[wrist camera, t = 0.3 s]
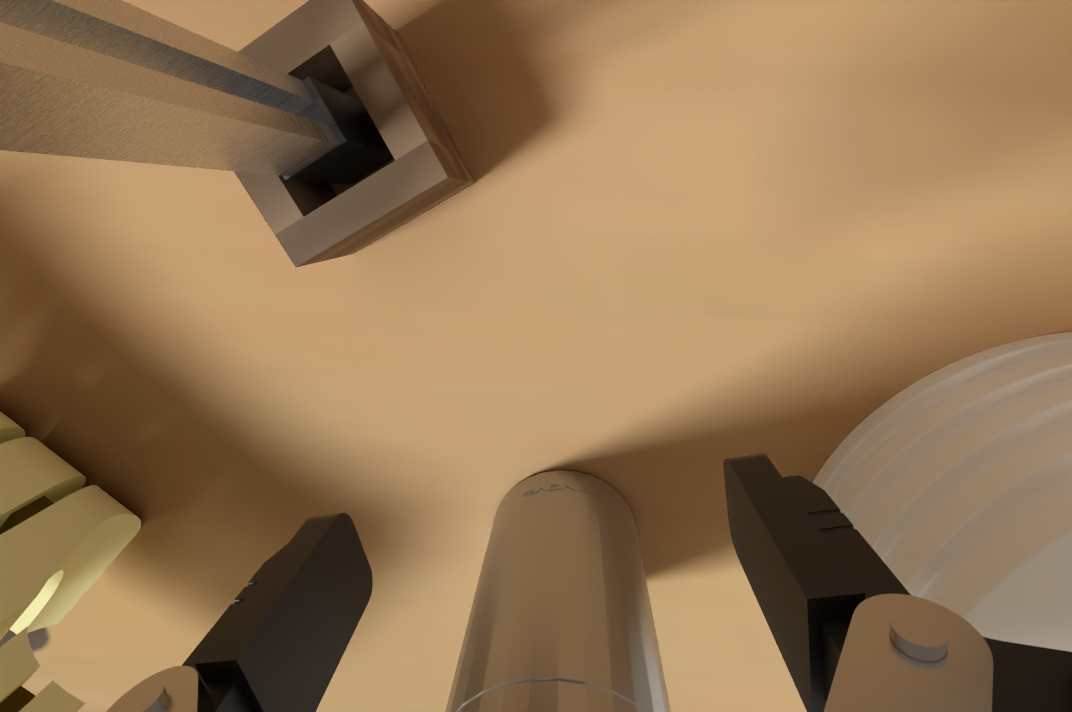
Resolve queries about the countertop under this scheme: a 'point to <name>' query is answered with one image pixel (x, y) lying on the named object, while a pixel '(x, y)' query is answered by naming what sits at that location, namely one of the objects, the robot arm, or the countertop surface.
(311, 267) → the countertop surface
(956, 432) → the plate stack
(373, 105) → the tong rest
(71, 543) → the slatted curved stool
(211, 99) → the tongs
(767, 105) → the countertop surface
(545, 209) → the countertop surface
